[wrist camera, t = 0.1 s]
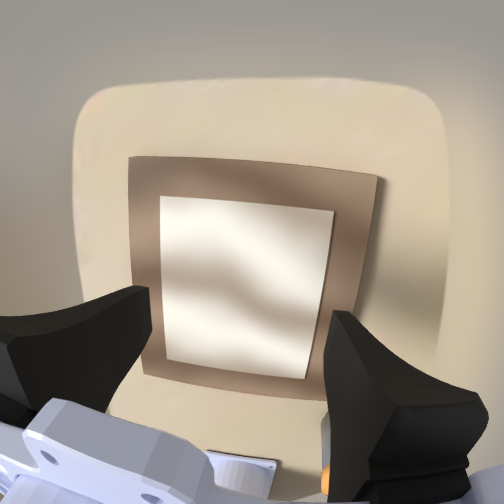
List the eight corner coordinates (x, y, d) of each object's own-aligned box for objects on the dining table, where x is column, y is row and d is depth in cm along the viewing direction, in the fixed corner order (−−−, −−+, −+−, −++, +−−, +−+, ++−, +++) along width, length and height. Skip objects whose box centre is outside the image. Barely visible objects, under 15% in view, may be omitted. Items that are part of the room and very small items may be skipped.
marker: (357, 430, 26) (365, 497, 19) (315, 429, 27) (315, 498, 19) (369, 401, 25) (383, 472, 17) (324, 400, 25) (328, 473, 18)
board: (328, 393, 25) (328, 402, 24) (147, 367, 26) (142, 375, 25) (373, 174, 19) (378, 176, 18) (135, 156, 21) (127, 157, 19)
